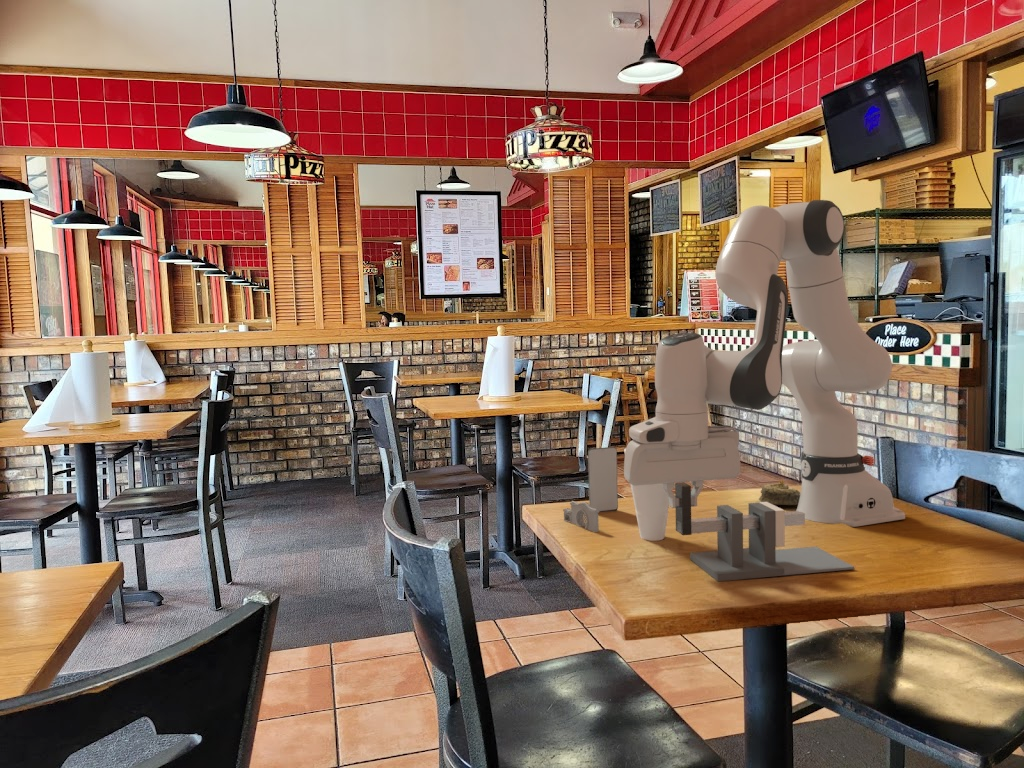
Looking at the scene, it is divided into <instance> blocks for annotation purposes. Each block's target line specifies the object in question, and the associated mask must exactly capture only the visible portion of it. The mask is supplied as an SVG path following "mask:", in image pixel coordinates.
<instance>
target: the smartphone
mask: <svg viewBox="0 0 1024 768" xmlns="http://www.w3.org/2000/svg"><path fill="white" fill-rule="evenodd" d="M617 453H618V452H617V447H615V446H608V447H606V446H605V447H597V448H590V449H588V452H587V457H588V458H587V460H588V461H587V462H588V467H587V468H588V494H589V495H588V497H589V498H588V499H589V500H588V503H589V504H590V505H591V506H592V507H593V508H594V509H597V510H600V512H599V513H604V512H606V513H607V512H616V511H617V510H618V509H619V500H618V498H619V497H618V496H619V495H618V493H619V491H618V457H617V456H618V454H617Z"/></svg>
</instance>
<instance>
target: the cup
mask: <svg viewBox="0 0 1024 768" xmlns="http://www.w3.org/2000/svg"><path fill="white" fill-rule="evenodd" d="M623 450H624V451H623V452H624V454H625V451H626V448H624V449H623ZM630 488H631V494H632V495H631V496H632V499H633V504H634V509H635V516H636V520H637V521H636V522H637V526H638V531H639V536H640V539H642V540H644V541H650V542H651V541H652V542H653V541H654V542H657V541H662V540H663V539H665V537H666V536H665V535H666V530H667V522H668V518H669V517H668V516H669V509H670V506H669V496H668V495H667V493H666V492H665V490H664V488H663V484H651V485H637V486H634V485H632V484H630ZM671 490H672V491H673V489H671Z"/></svg>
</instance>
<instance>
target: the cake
mask: <svg viewBox="0 0 1024 768" xmlns="http://www.w3.org/2000/svg"><path fill="white" fill-rule="evenodd" d="M800 493H801V491H799V490H798V489H795V488H789V485H788V484H785V483H784V480H783V479H780V481H779V482H777V483H776V482H775V483H768V484H764V485H763V486H762V488H761V490H760V494H761V495H760V496H759V498H758V500H759V502H768V503H770V504H773V505H775V506H777V505H780V506H781V505H782V506H796V505H797V506H798V503H799V499H800Z"/></svg>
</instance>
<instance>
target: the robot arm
mask: <svg viewBox="0 0 1024 768" xmlns="http://www.w3.org/2000/svg"><path fill="white" fill-rule="evenodd" d="M844 222H845V220H844V215H843V213H842V211H841V209H840V208H839V206H837V205H836V204H835V203H834V202H833V201H832V200H826V199H813V200H811V201H803V202H792V203H787V204H782V205H779V206H776V207H770V206H767V205H754V206H750V207H747V208H746V209H745V210H743V211H742V212H741V213H740V214H739V215H738V217H737V219H736V220H735V222H734V223H733V225H732V227H731V229H729V232H728V234H727V236H726V239H725V240H724V243H723V245H722V248H721V250H720V252H719V256H718V259H717V261H716V266H715V273H714V274H715V276H714V277H715V281H716V284H717V285H718V288H719V289H720V291H721V292H722V293H723V294H725V296H726V297H727V298H729V299H730V300H732V301H733V302H735V303H737V304H739V305H742V306H744V307H748V308H750V309H753V310H755V311H756V317H755V324H754V325H755V326H754V332H753V339H752V340H753V341H752V344H751V345H750V346H749V347H747V348H746V349H742V350H718V349H717V350H715V349H714V350H713V348H710V347H708V346H707V345H705V341H704V338H703V336H702V334H700V333H697V332H681V333H677V334H675V333H674V334H670V335H667V336H665V337H663V338H661V339H660V340H659V341H658V343H657V348H656V352H655V359H654V360H655V361H654V363H655V364H654V386H655V387H654V389H655V391H656V395H657V396H656V397H657V401H656V402H657V403H656V406H655V416H653V417H652V418H649V419H646V420H644V421H641V422H639V423H637V424H634V425H631V426H630V427H629V429H628V436H629V438H631V439H632V440H630V441H629V442H628V444H627V445H626V451H625V453H624V462H623V476H624V479H625V480H626V481H627V482H628V484H630V485H631V484H632V485H634V486H637V485H651V484H663V488H664V490H665V492H666V493H667V495H668V496H669V508H671V509H676V508H679V507H681V504H680V502H681V498H680V497H678V496H675V492H674V491H673V490H675V483H682V482H684V483H688V482H689V483H690V484H691V485H692V488H691V508H692V507H693V508H694V507H698V497H699V496H700V494H701V492H702V490H703V488H704V481H718V480H730V479H737V478H738V477H739V476H740V474H741V472H742V468H741V467H742V465H741V458H740V450H739V444H740V434H739V432H738V430H737V429H736V428H734V427H732V426H731V425H730V424H728V425H727V424H724V425H709V412H708V411H709V410H708V405H709V404H710V405H716V406H731V407H738V408H744V409H750V410H757V411H759V410H763V409H764V408H766V407H768V405H770V404H771V403H772V402H774V401H775V400H776V399H777V397H778V396H779V395H780V393H781V392H782V391H781V390H782V385H784V386H785V387H786V388H787V389H788V390H789V392H790V393H791V395H792V397H793V398H794V400H795V402H796V404H797V406H798V409H799V412H800V413H799V414H800V416H801V421H802V439H803V440H802V441H803V442H802V444H803V445H802V446H803V448H802V449H803V451H802V452H800V453H801V458H800V461H801V462H800V473H801V477H802V480H801V487H800V499H799V503H798V505H797V508H796V510H795V511H800V512H803V513H805V520H807V521H811V522H815V523H816V522H817V523H823V524H831V525H832V524H833V525H836V524H843V525H846V526H848V527H854V528H855V527H862V526H868V525H874V524H876V525H877V524H881V523H886V522H887V523H888V522H894V521H899V520H905V519H906V514H905V512H904V511H903V510H901V509H899V508H897V507H895V506H894V500H893V499H894V498H893V495H892V492H891V490H890V488H889V487H888V486H887V485H886V484H884V483H883V482H882V481H880V480H879V479H877V478H876V477H875V476H874V475H872V474H871V473H869V472H868V471H867V470H866V467H865V465H867V466H869V467H872V466H875V465H874V464H875V463H876V459H875V458H874V456H871V455H870V456H869V455H864V456H863V455H861V454H860V453H858V430H859V429H858V428H859V427H858V423H859V422H858V421H857V418H856V416H855V415H854V413H852V412H851V411H850V410H848V409H846V408H845V407H844V406H843V405H842V404H841V403H840V401H839V399H838V397H837V394H836V392H842V393H844V392H845V393H864V392H865V393H866V392H871V391H877V390H880V389H881V388H883V387H884V386H885V385H886V384H887V383H888V381H889V380H890V378H891V375H892V370H893V363H892V362H893V361H892V358H891V355H890V354H889V352H888V350H887V349H886V348H885V347H884V346H883V345H881V344H879V343H878V342H876V341H875V340H874V339H872V338H871V337H870V336H869V335H868V334H867V333H866V332H865V331H864V330H863V328H862V327H861V325H859V323H858V322H857V320H856V318H855V316H854V315H853V311H852V309H851V305H850V303H849V298H848V294H847V289H846V288H847V287H846V282H845V278H844V277H845V276H844V273H843V266H842V263H841V258H840V255H839V252H838V249H837V248H838V247H839V245H840V243H841V242H842V240H843V237H844V234H845V232H844V231H845V223H844ZM781 262H785V271H786V279H787V280H786V281H787V285H786V282H785V281H784V279H783V278H782V277H781V276H779V275H778V273H779V271H778V269H779V267H780V263H781ZM787 287H788V289H787ZM788 291H789V292H788ZM788 293H789V297H788ZM788 298H789V299H790V303H791V308H792V314H793V318H794V320H795V322H796V323H797V324H798V325H800V326H801V327H803V328H804V329H806V330H808V331H809V332H810V333H811V334H812V335H813V336H814V337H815V338H816V340H801V341H796V342H792V343H788V344H785V345H784V340H785V331H786V323H787V314H788ZM707 404H708V405H707ZM671 489H672V490H671Z"/></svg>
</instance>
